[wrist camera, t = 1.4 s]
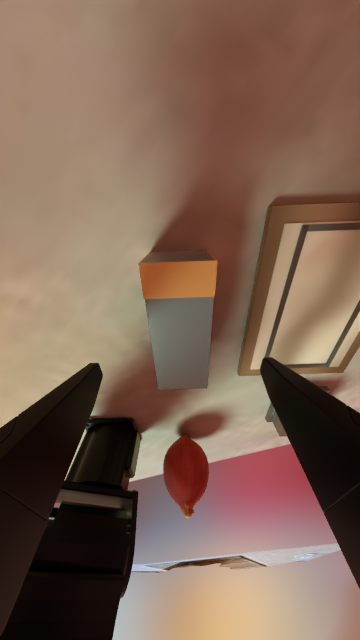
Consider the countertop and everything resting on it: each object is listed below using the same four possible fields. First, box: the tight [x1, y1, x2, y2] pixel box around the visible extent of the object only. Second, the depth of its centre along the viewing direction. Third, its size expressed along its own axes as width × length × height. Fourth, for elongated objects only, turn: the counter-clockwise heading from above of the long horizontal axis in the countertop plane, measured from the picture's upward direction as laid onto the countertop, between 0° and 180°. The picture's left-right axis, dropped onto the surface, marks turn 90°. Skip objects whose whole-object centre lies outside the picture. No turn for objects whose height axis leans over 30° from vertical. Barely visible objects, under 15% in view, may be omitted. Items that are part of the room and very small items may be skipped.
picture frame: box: [237, 202, 360, 376], centre depth 14 cm, size 11×15×1 cm
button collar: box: [265, 387, 331, 436], centre depth 20 cm, size 6×6×2 cm
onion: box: [163, 435, 209, 518], centre depth 21 cm, size 6×6×8 cm
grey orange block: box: [139, 250, 218, 390], centre depth 13 cm, size 4×10×4 cm, turn 2°
